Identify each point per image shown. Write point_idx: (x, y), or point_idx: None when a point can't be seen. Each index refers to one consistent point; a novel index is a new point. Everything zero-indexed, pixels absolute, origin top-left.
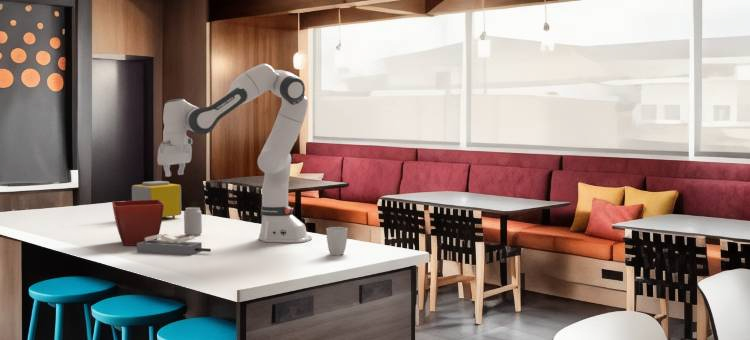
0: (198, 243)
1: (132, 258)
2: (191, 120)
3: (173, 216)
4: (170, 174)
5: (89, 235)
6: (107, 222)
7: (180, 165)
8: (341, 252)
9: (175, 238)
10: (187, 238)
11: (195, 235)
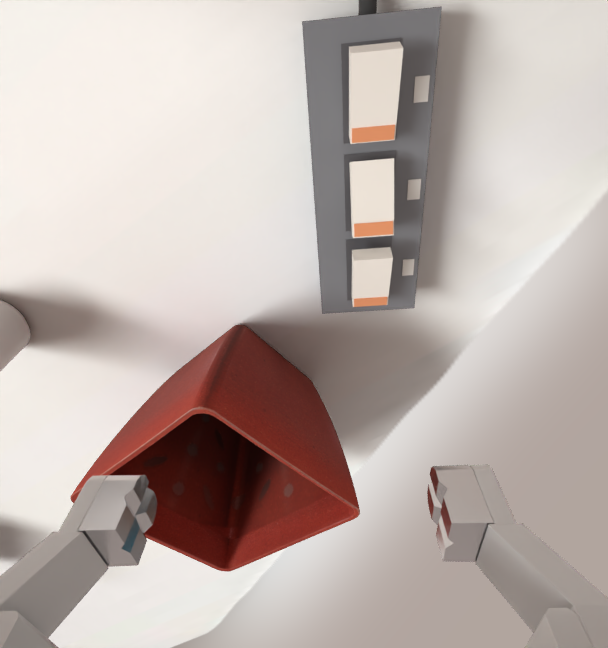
0: (338, 18)
1: (540, 229)
2: None
3: None
4: (465, 485)
5: None
6: None
7: (46, 643)
8: None
9: (366, 166)
10: (401, 61)
11: (5, 302)
